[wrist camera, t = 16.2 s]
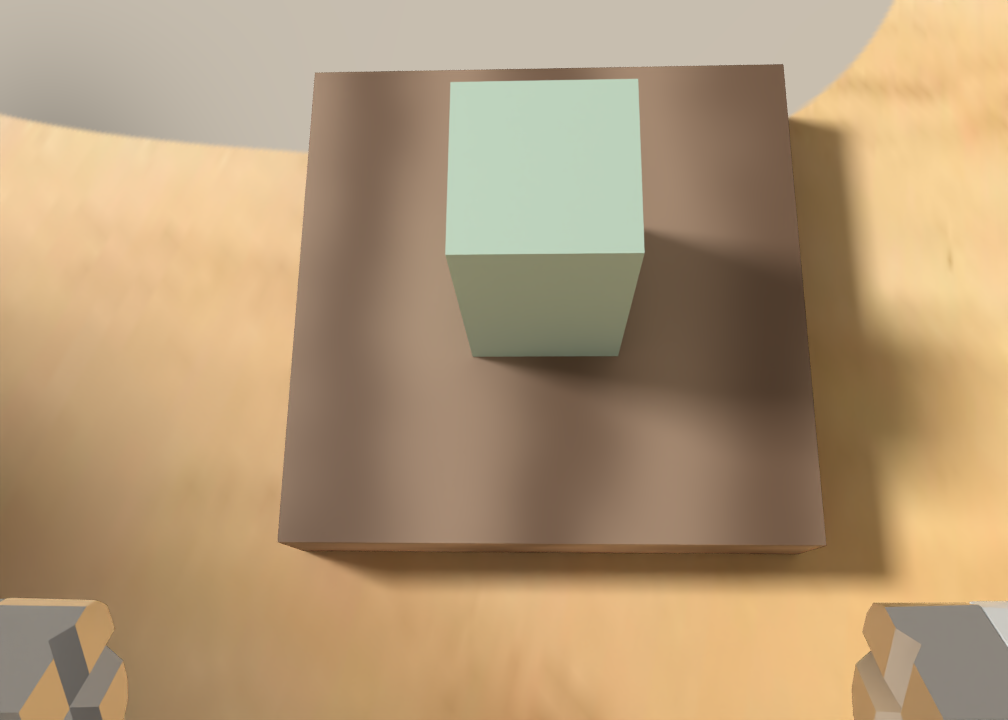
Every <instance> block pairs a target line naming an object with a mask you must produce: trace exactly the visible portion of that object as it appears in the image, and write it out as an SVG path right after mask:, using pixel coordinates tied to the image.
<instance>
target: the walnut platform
mask: <svg viewBox="0 0 1008 720" xmlns="http://www.w3.org/2000/svg"><path fill="white" fill-rule="evenodd" d="M598 79H638V88H639V115H640V142H641V169H642V196H643V223H644V250H645V253H644V257H643V261H642V265H641V269H640V273H639V277H638V281H637V284H636V288H635V292H634V296H633V300H632V304H631V308H630V312H629V315H628V319H627V323H626V327H625V331H624V335H623V339H622V343H621V346H620V350H619V354H618V356H524V357H473V356H472V352H471V349H470V345H469V341H468V338H467V334H466V330H465V326H464V323H463V319H462V315H461V312H460V308H459V304H458V300H457V297H456V293H455V289H454V285H453V282H452V278H451V274H450V271H449V267H448V263H447V259H446V256H445V246H446V213H447V180H448V148H449V115H450V82H483V81H540V80H598ZM278 542H279V543H282V544H285V545H288V546H291V547H294V548H297V549H300V550H303V551H425V552H577V553H730V554H800V553H803V552H807V551H810V550H813V549H816V548H819V547H823V546H826V537H825V526H824V515H823V503H822V492H821V481H820V470H819V459H818V448H817V436H816V425H815V414H814V403H813V392H812V380H811V369H810V358H809V347H808V336H807V324H806V313H805V302H804V291H803V280H802V268H801V257H800V246H799V235H798V224H797V213H796V201H795V190H794V179H793V168H792V157H791V145H790V134H789V123H788V113H787V101H786V89H785V79H784V67H783V64H777V65H776V64H775V65H719V66H665V67H609V68H608V67H607V68H553V69H496V70H495V69H494V70H441V71H381V72H329V73H327V72H326V73H315V80H314V92H313V104H312V117H311V129H310V141H309V154H308V166H307V179H306V191H305V204H304V216H303V229H302V241H301V254H300V266H299V279H298V291H297V304H296V316H295V329H294V342H293V354H292V367H291V379H290V392H289V404H288V417H287V429H286V442H285V454H284V467H283V479H282V492H281V504H280V517H279V529H278Z"/></svg>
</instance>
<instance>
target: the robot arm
mask: <svg viewBox="0 0 1008 720" xmlns="http://www.w3.org/2000/svg"><path fill="white" fill-rule="evenodd" d="M114 629H115V628H114V625H113V621H112V618H111V615H110V612H109V609H108V605H106V604H104V603H102V602H100V601H98V600H74V599H38V598H7V599H1V598H0V720H124V716H125V711H126V706H127V702H128V682H127V674H126V670H125V666H124V662H123V660H122V659H121V658H120V657H119V656H117V655H116V654H115V653H114V652H113V651H112V650H111V649H109V648H108V647H107V646H106V644H107V642H108V640H109V638H110V637H111V635H112V633H113V631H114ZM863 634H864V637H865V639H866V641H867V643H868V645H869V647H870V650H871V651H870V652H869V653H868V654H867V655H865V656H864V657H863V658H862V659H861V660H860V661H859V662H858V663H856V665H855V671H854V678H853V684H852V704H853V716H854V720H1008V601H977V602H970V603H873V604H872V606H871V607H870V609H869V610H868V612H867V614H866V619H865V623H864V627H863Z"/></svg>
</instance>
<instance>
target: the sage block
mask: <svg viewBox="0 0 1008 720" xmlns="http://www.w3.org/2000/svg"><path fill="white" fill-rule="evenodd" d="M644 253H645V250H644V223H643V196H642V169H641V142H640V115H639V88H638V79H598V80H540V81H483V82H450V115H449V148H448V180H447V213H446V246H445V256H446V259H447V263H448V267H449V271H450V274H451V278H452V282H453V285H454V289H455V293H456V297H457V300H458V304H459V308H460V312H461V315H462V319H463V323H464V326H465V330H466V334H467V338H468V341H469V345H470V349H471V352H472V356H473V357H524V356H618V354H619V350H620V346H621V343H622V339H623V335H624V331H625V327H626V323H627V319H628V315H629V312H630V308H631V304H632V300H633V296H634V292H635V288H636V284H637V281H638V277H639V273H640V269H641V265H642V261H643V257H644Z"/></svg>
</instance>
